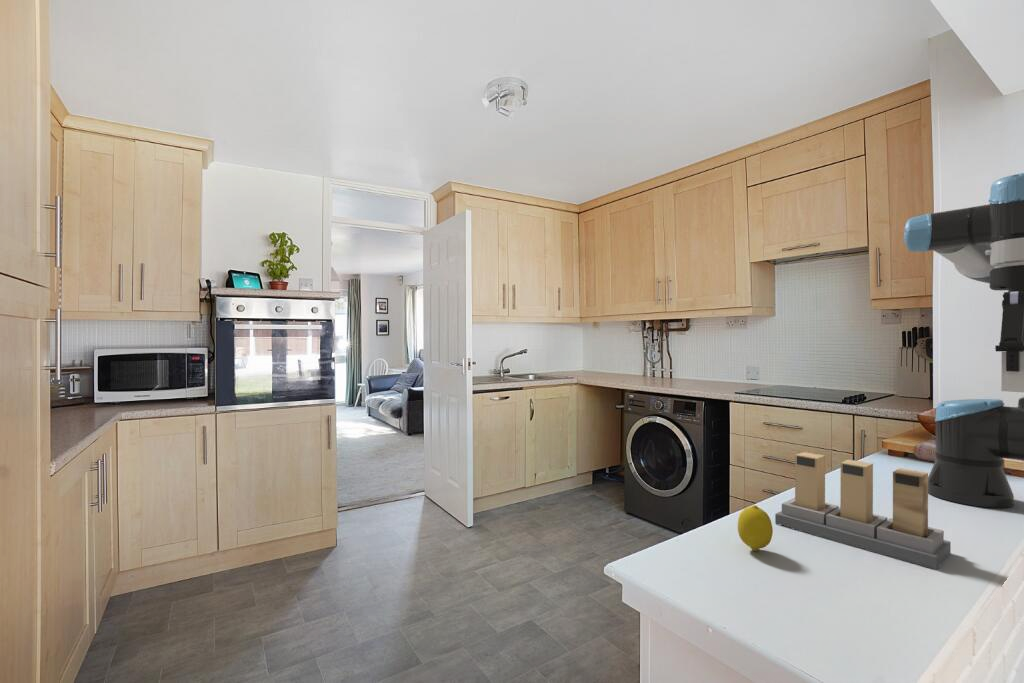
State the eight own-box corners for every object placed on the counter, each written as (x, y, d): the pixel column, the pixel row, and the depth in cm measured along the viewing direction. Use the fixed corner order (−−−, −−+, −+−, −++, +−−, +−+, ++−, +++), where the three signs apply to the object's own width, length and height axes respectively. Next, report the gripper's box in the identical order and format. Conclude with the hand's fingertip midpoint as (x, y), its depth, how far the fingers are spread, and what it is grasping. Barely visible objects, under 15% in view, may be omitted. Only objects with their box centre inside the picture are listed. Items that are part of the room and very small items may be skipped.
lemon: (769, 546, 88) (769, 502, 88) (775, 559, 83) (775, 512, 83) (735, 542, 90) (736, 498, 90) (739, 555, 84) (739, 508, 84)
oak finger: (899, 534, 88) (899, 468, 88) (927, 541, 85) (928, 472, 85) (892, 540, 86) (892, 471, 86) (921, 547, 83) (921, 476, 83)
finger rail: (796, 512, 105) (796, 447, 105) (950, 553, 85) (950, 472, 85) (775, 523, 99) (775, 454, 99) (936, 569, 79) (936, 483, 79)
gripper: (1001, 274, 95) (1001, 383, 95) (975, 261, 79) (975, 392, 79) (1059, 269, 89) (1059, 386, 89) (1043, 255, 73) (1043, 396, 74)
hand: (1019, 389), depth 84 cm, fingers open, 13 cm apart
